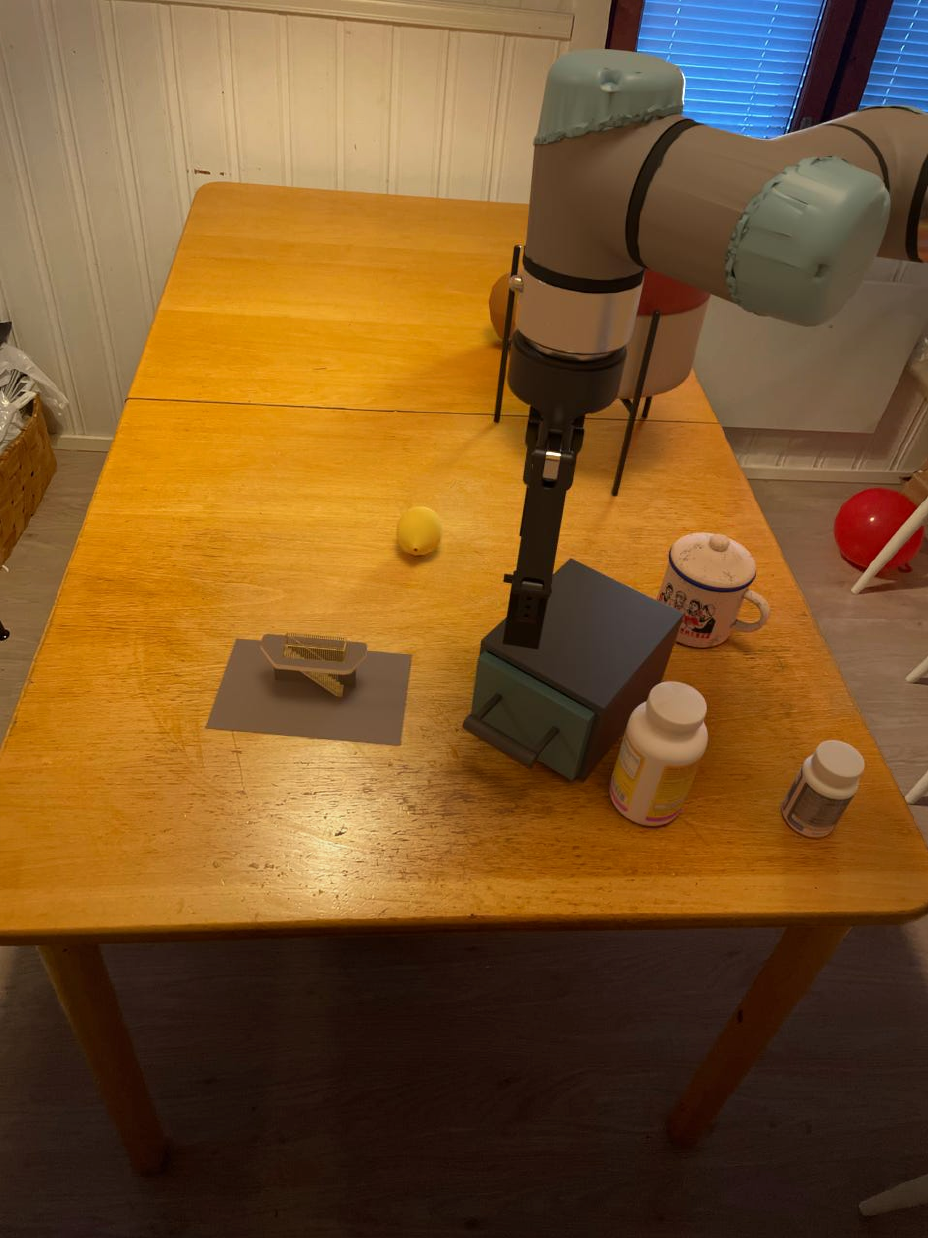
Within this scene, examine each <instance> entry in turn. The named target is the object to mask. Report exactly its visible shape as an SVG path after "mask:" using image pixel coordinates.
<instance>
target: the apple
mask: <svg viewBox="0 0 928 1238" xmlns="http://www.w3.org/2000/svg"><path fill="white" fill-rule="evenodd" d="M521 269H522V268H521ZM521 269H518V275H522V274H521ZM510 276H511V271H507V272H505V273H504V274H502V275H501V276H500V277H499V278H498V279H497V280H496V282H495V283H494V284H493V285H492V286H491V291H490V295H489V299H488V308H489V317H490V321H491V322H490V323H491V325H492V327H493V329H494V331H495V334H496V336H497V338H499V340H500V339H501V340H502V341H503V337H504V328H505V319H506V311H507V302H508V294H509V281H510ZM519 294H520V292H515V300H514V308H513V317H512V325H511V333H510V340H512V336H513V333H514V328H515V317H516V308H517V300H518V297H519ZM501 340H500V341H501ZM502 341H501V342H502ZM509 349H510V350H511V347H509Z"/></svg>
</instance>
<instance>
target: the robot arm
mask: <svg viewBox="0 0 928 1238" xmlns="http://www.w3.org/2000/svg"><path fill="white" fill-rule="evenodd" d="M685 88H686V78H685V75H684V71H682V69H681V68H680V67H679V66H678V64H675V63H673V62H669V61H666V60H665V59H663V58H661V57H658V56H654V55H651V54H647V53H643V52H642V53H641V52H635V51H629V50H619V49H607V48H586V49H577V50H571V51H568V52H566V53H564V54H562V55H561V56H559V57H558V58H557V59H556V60H554V62H553V63H552V64H551V66H550V68H549V69H548V72H547V76H546V81H545V86H544V92H543V96H542V97H543V98H542V103H541V109H540V115H539V120H538V126H537V131H536V135H535V136H534V137H533V141H532V146H533V147H534V148H533V159H532V168H531V169H532V170H531V182H530V194H529V205H528V214H527V228H526V238H525V240H526V241H525V244H524V246H523V253H522V259H521V263H522V265H521V274H522V275H513V276H512V277H511V278H510V281H509V288H510V289H511V290H512V291H514V292H520V295H519V297H518V300H517V308H516V317H515V323H516V326H517V328H518V329H517V330H516V331H515V332H514V333H513V336H512V343H511V349H510V352H509V360H508V368H507V374H506V375H507V378H506V380H507V385H508V388H509V390H510V391H511V392H512V394H513V395H514V396H515V397H516V398H517V399H518V400H519V401H521V402H522V403H524V404H525V405H527V406H529V411H528V417H527V418H528V419H527V424H526V431H525V437H524V445H525V447H526V454H525V460H524V467H523V473H522V482H523V484H524V485H525V486H526V488H525V496H524V503H523V509H522V515H521V521H520V529H519V535H518V537H520V542H519V549H518V555H517V562H516V567H515V570H513V573H512V574H510V573H504V574H503V581H502V583H505V584H511V585H510V592H509V598H508V605H507V611H506V617H507V618H506V617H505V618H506V624H505V631H504V637H503V644H505V645H512V646H518V647H525V648H531V649H538V648H539V643H540V638H541V633H542V628H543V622H544V617H545V612H546V607H547V602H548V599H549V597H550V594H552V588H553V587H552V585H551V584H552V579H553V577H552V576H553V574H554V568H555V563H556V557H557V551H558V546H559V545H558V544H559V540H560V533H561V527H562V522H563V521H562V520H563V515H564V510H565V503H566V497H567V491H569V490H570V489H571V488H572V486H573V484H574V479H575V471H576V467H577V459H578V455H579V454H580V453H581V450H582V449H583V444H584V438H585V433H586V432H585V430H586V428H585V426H584V425H585V422H586V421H585V420H586V416H587V415H592V414H593V415H594V414H597V413H599V412H602V411H604V410H606V409H607V408H609V407H611V406H612V404H613V403H614V402H615V401H616V400H617V399H616V398H617V396H618V392H619V388H620V383H621V379H622V374H623V369H624V365H625V360H626V356H627V349H626V346H625V345H626V344H627V343H629V341H630V339H631V337H632V333H633V328H634V323H635V319H636V314H637V310H638V305H639V300H640V296H641V291H642V287H643V282H644V272H645V268H646V269H648V270H650V271H655V272H657V273H660V274H662V275H665V276H667V277H670V278H672V279H675V280H677V281H680V282H682V283H685V284H687V285H690V286H692V287H695V288H697V289H700V290H702V291H705V292H707V293H710V294H711V296H715V297H717V298H720V299H722V300H724V301H727V302H729V303H732V304H735V305H736V306H738V307H740V308H741V309H742V310H743V311H745V312H747V313H750V314H751V313H752V314H753V315H756V316H759V317H769V318H773V319H775V320H780V321H783V322H786V323H789V324H793V325H797V326H801V327H807V328H810V327H817V326H820V325H824V324H825V323H828V322H829V321H831V320H832V319H833V318H835V317H836V316H837V315H839V314H840V313H841V312H842V311H843V309H844V307H845V305H846V303H847V302H848V300H849V299H852V298H853V297H854V296H855V294H856V293H857V292H858V290H859V288H860V287H861V286H862V284H863V283H864V281H865V279H866V277H867V275H868V273H869V271H870V270H871V267H872V265H873V263H874V262H875V259H876V258H882V259H888V260H889V259H890V260H897V261H907V262H911V263H920V264H924V263H925V264H928V112H926V111H924V110H923V109H921V108H918V107H915V106H911V105H906V104H882V105H868V106H865V107H862V108H860V109H858V110H855V111H851V112H849V113H847V114H845V115H844V116H840V117H837V118H834V119H832V120H828V121H826V122H822V123H819V124H816V125H813V126H809V127H806V128H803V129H800V130H796V131H792V132H789V133H786V134H782V135H778V136H776V137H773V138H768V139H767V138H758V137H753V136H749V135H745V134H742V133H737V132H733V131H729V130H725V129H721V128H717V127H713V126H710V125H707V124H705V123H702V122H698V121H697V120H695V119H693V118H690V117H687V116H684V115H683V113H684V106H685V101H684V97H685Z"/></svg>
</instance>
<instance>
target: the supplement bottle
mask: <svg viewBox="0 0 928 1238" xmlns="http://www.w3.org/2000/svg"><path fill="white" fill-rule="evenodd" d="M707 712H708V706H707V702H706V700H705V698H704V696H703V695H702V694H701V693H700V692H699V691H698V690H697V689H696V688H694V687H692V686H691V685H689V684H687V683H685V682H684V683H683V682H679V681H674V680H673V681H670V680H669V681H668V680H667V681H663V682H661V683H660V684H658V685H656V686H655V687H654V688H653V689H652V690H651V692H650V694H649V697H648V699H647V701H646V702H644V703H642V704H640V705H639V706H638V707H637V708H636V709H635V710H634V711H633V712H632V714H631V716H630V718H629V721H628V724H627V727H626V730H625V731H624V733H623V737H622V741H621V743H620V747H619V750H618V753H617V757H616V761H615V763H614V767H613V770H612V773H611V777H610V781H609V789H608V790H609V796H610V799H611V801H612V804H613V806H614V807H615V809H616V810H617V811H618V812H619V813H620V814H621V815H622V816H624V818H626V819H627V820H630V821H631V822H634V823H635V824H639V825H642V826H649V827H658V826H663V825H666V824H668V823H671V822H672V821H673V820H674V819H676V818H677V817H678V816H679V814H680V813H681V811H682V809H683V806H684V804H685V802H686V799H687V796H688V794H689V792H690V790H691V787H692V784H693V781H694V780H695V777H696V774H697V771H698V769H699V766H700V765H701V762H702V759H703V757H704V754H705V752H706V749H707V746H708V741H709V734H708V729H707V726H706V724H705V719H706V716H707Z"/></svg>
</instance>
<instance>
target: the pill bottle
mask: <svg viewBox="0 0 928 1238" xmlns="http://www.w3.org/2000/svg"><path fill="white" fill-rule="evenodd" d="M865 762H866V761H865V759H864V757H863V755H862V754H861V753H860V751H858V749H856V748H855V747H854V746H852V745H851V744H849V743H846V742H845V741H842V740H836V739H828V740H825V741H822V742H820V744H818V746H817V747H816V749H815V751H814V752H813V754H811V755H810V756H808V757H806V759H805V760H804V761H803V763H802V765H801V767H800V769H799V771H798V773H797V774H796V777H795V779H794V781H793V782H792V784H791V786H790V788H789V789H788V792H787V793H786V795H785V798H784V799H783V801H782V803H781V813H782V816H783V818H784V820H785V822H786V823H787V824H788V826H789V827H790V828H791V829H792V830H794V831H795V832H796V833H798V834H800V835H803V836H806V837H809V838H823V837H826V836H828V835H829V834H831V832H833V830H834V829H835V827H836V825H837V824H838V823H839V821H840V819H841V818H842V816H843V814H844V813H845V812H846V810H847V808H848V806H849V805H850V803H851V802H852V800H853V798H854V797H855V795H856V794H857V793H858V791H859V786H860V779H861V777H862V775H863V773H864V771H865V768H866V763H865Z"/></svg>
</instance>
